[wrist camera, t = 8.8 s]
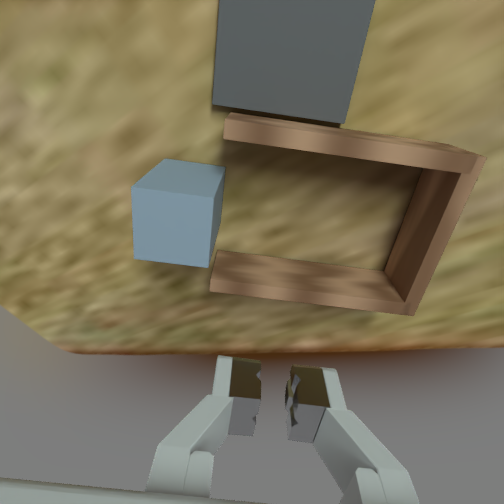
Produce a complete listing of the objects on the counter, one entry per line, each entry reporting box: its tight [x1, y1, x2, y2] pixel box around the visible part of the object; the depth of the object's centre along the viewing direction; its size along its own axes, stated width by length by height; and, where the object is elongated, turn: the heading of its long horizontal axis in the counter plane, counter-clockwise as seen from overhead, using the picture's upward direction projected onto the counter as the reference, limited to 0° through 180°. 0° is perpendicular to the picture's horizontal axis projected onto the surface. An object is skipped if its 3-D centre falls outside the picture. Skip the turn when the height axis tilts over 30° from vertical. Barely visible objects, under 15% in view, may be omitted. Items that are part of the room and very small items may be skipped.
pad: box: [212, 0, 375, 124], centre depth 22 cm, size 10×10×1 cm
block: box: [131, 159, 226, 268], centre depth 24 cm, size 5×5×8 cm
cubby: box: [210, 112, 487, 316], centre depth 26 cm, size 17×13×5 cm
